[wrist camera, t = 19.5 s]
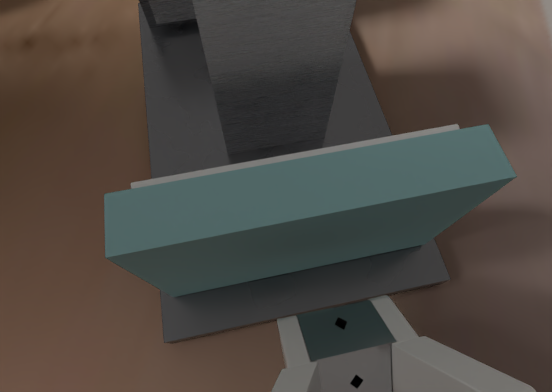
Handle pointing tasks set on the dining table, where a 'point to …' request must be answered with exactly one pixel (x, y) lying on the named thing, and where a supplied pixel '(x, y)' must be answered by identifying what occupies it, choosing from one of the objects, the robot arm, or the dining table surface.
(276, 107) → the steel block
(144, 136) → the dining table surface
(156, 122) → the vise
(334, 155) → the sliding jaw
